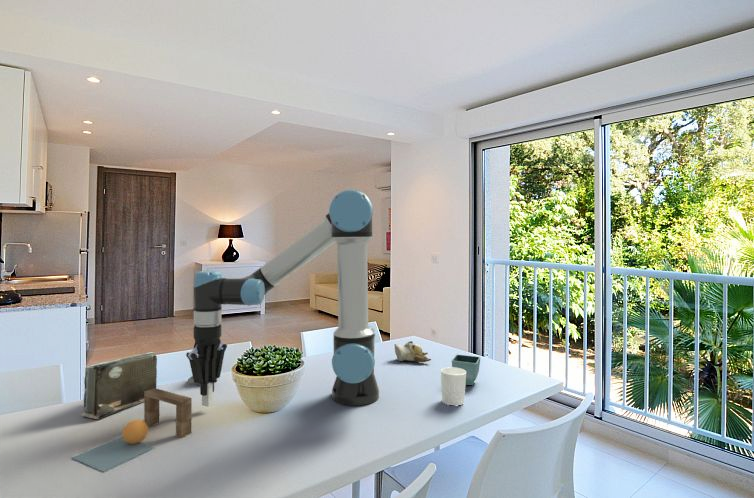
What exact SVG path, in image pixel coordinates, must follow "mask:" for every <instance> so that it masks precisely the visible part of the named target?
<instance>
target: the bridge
mask: <svg viewBox="0 0 754 498" xmlns="http://www.w3.org/2000/svg"><path fill="white" fill-rule="evenodd" d="M160 401H161V402H164V403H168V404H171V405H175V415H176V416H175V436H176V437H177V438H181V439H182V438H184V437H186V436H188V435H190V434H192V412H193V411H192V409H193V408H192V401H193V399H192V397H189V396H186V395H182V394H178V393H175V392H170V391H167V390H162V389H159V388H157V387H156V388H153V389H151V390H148V391H145V392H144V402H143V406H144V412H143V413H144V420H143V421H144V422H145V423H146V424H147V426H148V428H151V427H152V426H156V425H158V424H160Z"/></svg>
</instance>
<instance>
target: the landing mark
mask: <svg viewBox="0 0 754 498" xmlns="http://www.w3.org/2000/svg"><path fill="white" fill-rule="evenodd" d="M153 449H155V446H153V445H150V444H147V443H144V442H143V441H141V442H139V443H136V444H129V443H127V442H126V441H125V440H124V439H123V436H120V437H118V438H115V439H113V440H111V441H107V442H105V443H103V444H100V445H98V446H96V447H93V448H90V449H89V450H87V451H84V452H81V453H79V454H78V455H75V456H72V457H71V459H73V460H74V459H75V461H77V462H79V463H81V462H82V464H83V463H84V464H83V465H85V466H88V465H89V467H90V466H91V467H90V468H93V467H94V468H93V469H95V468H96V469H95V470H97V469H98V471H99V470H101V471H100V472H102V473H106V472H107V470H108V471H110V470H112V469H114V468H116V467H118V466H120V465H122V464H124V463H126V462H129V461H130V460H133V459H135V458H137V457H139V456H141V455H143V454H145V453H148V452H149V451H151V450H153ZM109 469H110V470H109ZM105 471H106V472H105Z"/></svg>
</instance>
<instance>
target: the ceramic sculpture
mask: <svg viewBox="0 0 754 498" xmlns="http://www.w3.org/2000/svg"><path fill="white" fill-rule="evenodd" d="M394 353H395V355H396V358H397V361H398V360H399V361H398V362H400V361H402V362H403V361H408V362H411V361H417V362H418V363H427V362H429V361H431V360H432V358H428V357H427V355H428V352H423V349H422V347H421V346H420V344H417V343H414V342H413V341H412V340H411V341H407V342H406V343H405V344H404V345H400V344H397V343H394Z"/></svg>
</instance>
